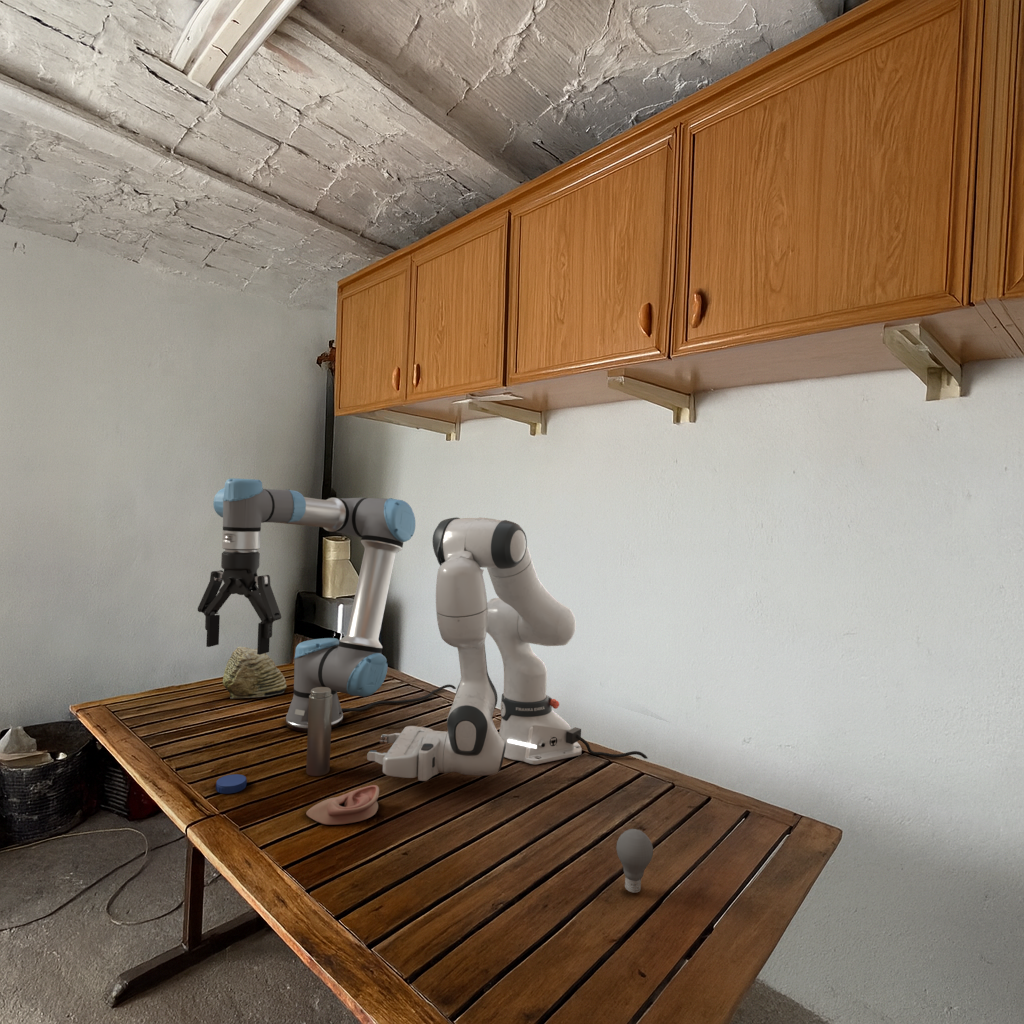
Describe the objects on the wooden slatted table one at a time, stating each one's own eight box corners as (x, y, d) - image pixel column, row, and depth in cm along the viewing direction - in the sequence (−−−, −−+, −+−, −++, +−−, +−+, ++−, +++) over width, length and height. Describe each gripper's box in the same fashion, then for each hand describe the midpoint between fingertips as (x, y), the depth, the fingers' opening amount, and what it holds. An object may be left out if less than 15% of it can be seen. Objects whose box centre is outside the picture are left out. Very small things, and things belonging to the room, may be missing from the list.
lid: (214, 795, 132) (214, 787, 132) (217, 783, 138) (217, 775, 138) (245, 792, 134) (245, 784, 134) (247, 779, 140) (247, 772, 140)
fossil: (218, 695, 195) (220, 647, 195) (278, 685, 208) (279, 640, 207) (228, 703, 189) (230, 653, 188) (289, 692, 201) (290, 645, 201)
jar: (314, 765, 149) (317, 685, 149) (333, 768, 148) (336, 687, 147) (301, 774, 144) (304, 691, 144) (321, 777, 143) (325, 694, 142)
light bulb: (610, 879, 108) (613, 822, 108) (644, 879, 109) (647, 822, 109) (619, 902, 102) (622, 840, 102) (655, 901, 103) (658, 840, 103)
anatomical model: (298, 800, 123) (327, 775, 135) (298, 820, 123) (326, 794, 135) (362, 810, 121) (386, 784, 132) (361, 830, 121) (385, 803, 132)
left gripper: (181, 547, 136) (178, 645, 136) (276, 555, 128) (272, 660, 128) (209, 545, 143) (205, 639, 144) (300, 553, 135) (297, 652, 135)
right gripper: (443, 721, 154) (387, 717, 155) (424, 755, 134) (360, 750, 135) (442, 747, 154) (386, 742, 155) (423, 785, 134) (359, 779, 135)
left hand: (237, 649), depth 136 cm, fingers open, 13 cm apart
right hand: (374, 746), depth 145 cm, fingers open, 8 cm apart
